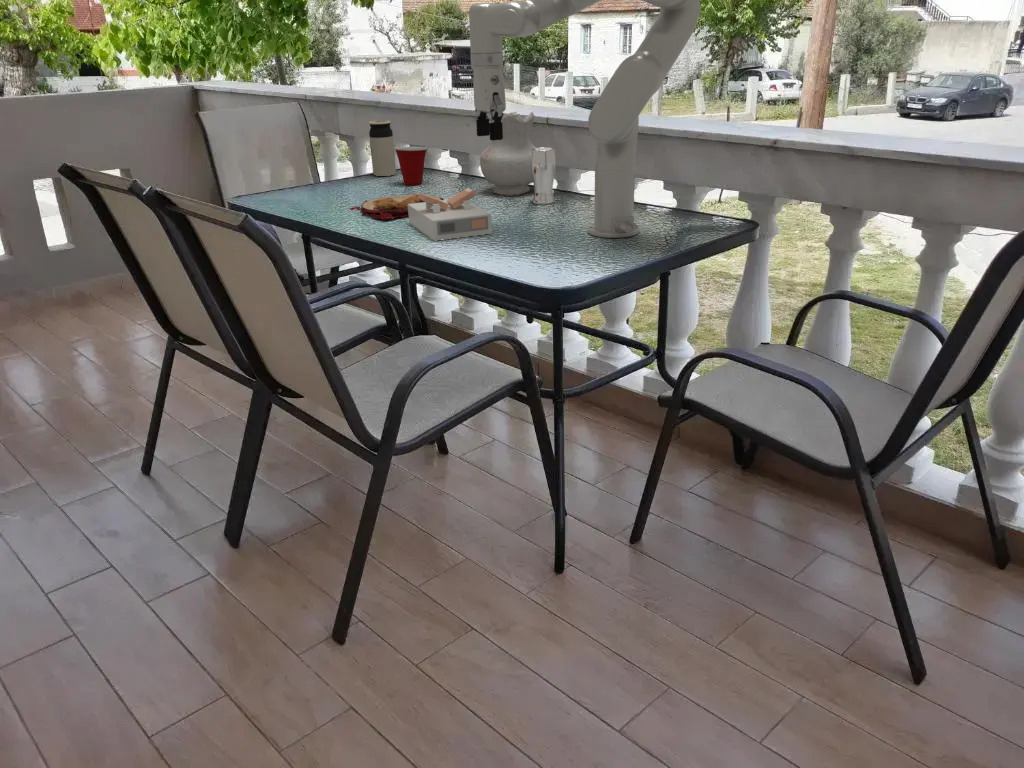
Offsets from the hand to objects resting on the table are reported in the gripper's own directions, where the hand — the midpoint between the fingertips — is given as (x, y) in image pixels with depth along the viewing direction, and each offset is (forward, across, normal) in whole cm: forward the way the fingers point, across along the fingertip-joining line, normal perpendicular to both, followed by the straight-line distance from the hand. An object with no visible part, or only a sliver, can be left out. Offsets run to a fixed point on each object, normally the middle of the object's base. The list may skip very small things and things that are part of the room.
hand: (489, 137), depth 194 cm
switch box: (+22, +4, +11) cm, 25 cm away
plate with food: (+23, +35, +15) cm, 44 cm away
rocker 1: (+15, +4, +15) cm, 22 cm away
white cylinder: (+22, +21, -24) cm, 39 cm away
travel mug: (+22, +91, +6) cm, 94 cm away
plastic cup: (+22, +69, +1) cm, 72 cm away
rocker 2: (+15, +4, +7) cm, 17 cm away
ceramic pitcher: (+22, +42, -22) cm, 52 cm away
